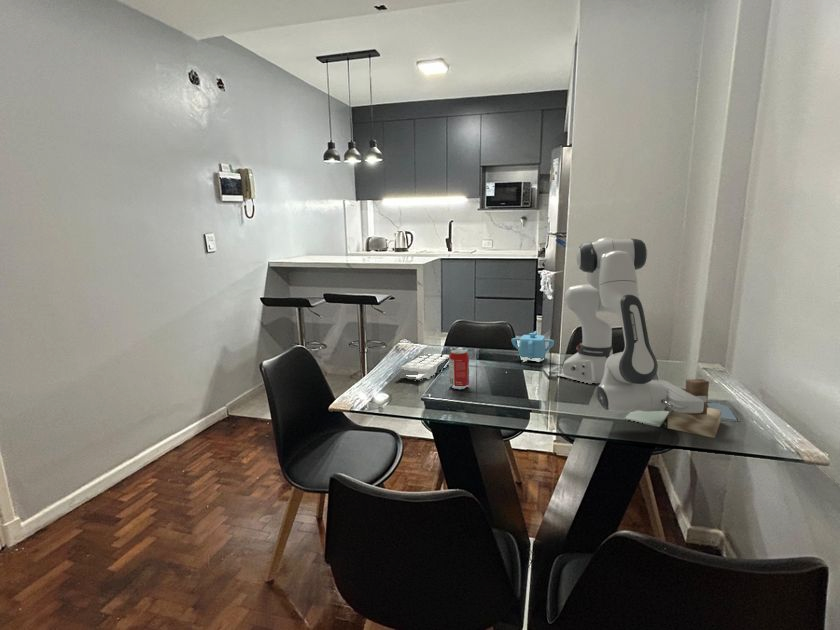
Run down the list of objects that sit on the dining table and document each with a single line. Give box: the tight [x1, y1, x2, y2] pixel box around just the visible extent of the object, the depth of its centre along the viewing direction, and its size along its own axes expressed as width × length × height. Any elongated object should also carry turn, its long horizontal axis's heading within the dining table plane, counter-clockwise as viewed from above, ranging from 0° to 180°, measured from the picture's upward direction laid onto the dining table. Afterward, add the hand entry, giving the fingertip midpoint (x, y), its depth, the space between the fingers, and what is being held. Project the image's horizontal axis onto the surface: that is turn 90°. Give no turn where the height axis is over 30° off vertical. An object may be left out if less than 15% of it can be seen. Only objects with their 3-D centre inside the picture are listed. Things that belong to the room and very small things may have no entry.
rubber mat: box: [624, 409, 670, 428], centre depth 145 cm, size 10×14×1 cm
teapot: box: [511, 330, 555, 359], centre depth 219 cm, size 18×16×14 cm
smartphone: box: [707, 402, 740, 423], centre depth 147 cm, size 7×1×15 cm
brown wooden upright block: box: [685, 378, 710, 415], centre depth 136 cm, size 5×3×10 cm, turn 91°
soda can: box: [448, 348, 470, 386], centre depth 178 cm, size 8×8×15 cm
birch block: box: [666, 408, 722, 439], centre depth 137 cm, size 12×14×4 cm
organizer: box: [400, 353, 449, 379], centre depth 203 cm, size 13×5×35 cm
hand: (699, 395), depth 136 cm, fingers open, 4 cm apart
